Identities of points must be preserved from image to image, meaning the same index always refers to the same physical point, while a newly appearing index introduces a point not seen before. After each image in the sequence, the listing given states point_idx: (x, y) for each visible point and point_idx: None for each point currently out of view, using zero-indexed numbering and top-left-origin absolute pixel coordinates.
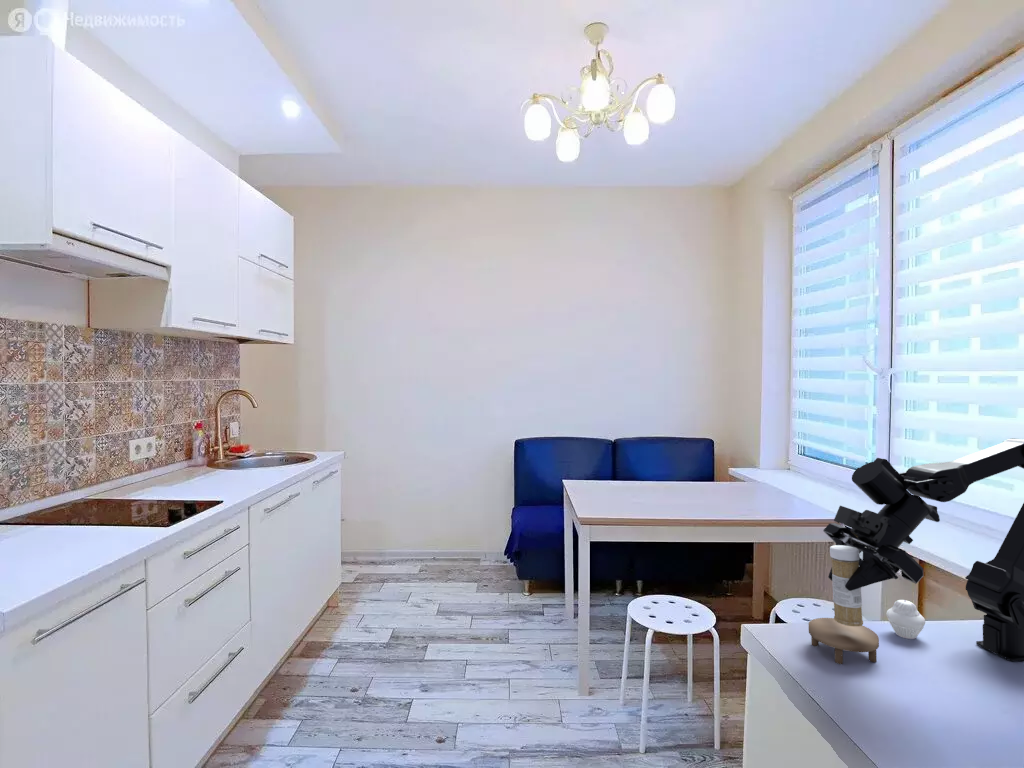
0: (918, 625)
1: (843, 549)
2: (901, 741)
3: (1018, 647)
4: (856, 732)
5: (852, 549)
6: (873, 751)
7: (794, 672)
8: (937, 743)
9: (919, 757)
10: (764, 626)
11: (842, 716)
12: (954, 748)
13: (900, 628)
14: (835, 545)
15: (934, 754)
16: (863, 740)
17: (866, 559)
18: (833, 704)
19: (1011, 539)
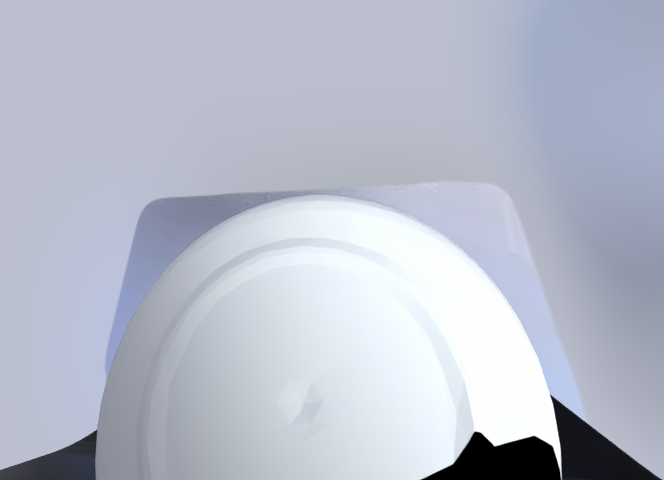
0: None
1: (182, 298)
2: (156, 250)
3: None
4: (180, 207)
5: (143, 474)
6: (151, 207)
7: (314, 192)
8: (144, 293)
9: (132, 251)
10: (510, 209)
11: (208, 207)
12: (133, 307)
13: None
14: (498, 353)
15: (132, 273)
16: (167, 206)
17: (38, 474)
18: (232, 209)
19: None
